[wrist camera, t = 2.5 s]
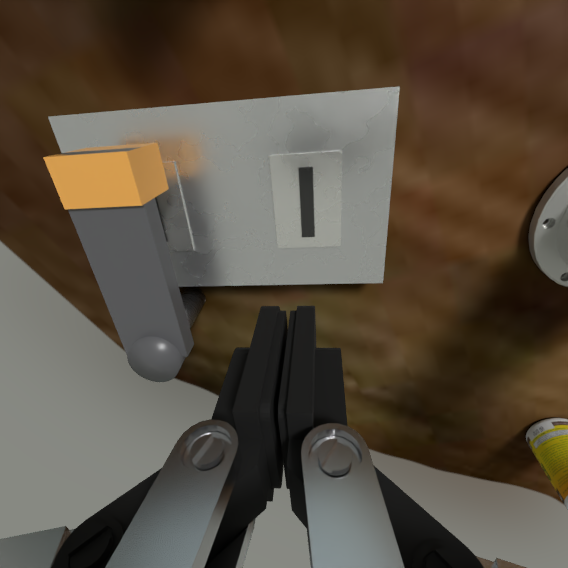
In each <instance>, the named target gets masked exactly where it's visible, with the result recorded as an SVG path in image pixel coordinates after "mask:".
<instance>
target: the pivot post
mask: <svg viewBox="0 0 568 568" xmlns="http://www.w3.org/2000/svg"><path fill="white" fill-rule="evenodd" d="M181 297H182V301H183V305H184V308H185V312H186V316H187V319H188V323H189V327H190V328H191V327H192V325H193V323H194V321H195V319H196V318H197V316H198V314H199V312H200V310H201V308H202V307H203V305H204V303H205V300H206V298H205V295H204V293H203V292H202V291H201V290H199V289H197V288H194V287H189V288H186V289H185V290H184V291H183V293H182V294H181Z"/></svg>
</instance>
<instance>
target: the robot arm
mask: <svg viewBox="0 0 568 568" xmlns="http://www.w3.org/2000/svg"><path fill="white" fill-rule="evenodd" d="M528 239H529V250H530V253H531V256H532V258H533V261H534V262H535V264H536V265H537V266H538V268H539V269H540V270H541V271H542V272H543V273H544V274H545V275H547V276H548V277H549V278H550V279H552V280H553V281H555V282H556V283H558V284H560V285H562V286H565V287H568V168H567V169H566V170H565V171H564V172H563V173H562V174H561V175H560V176H559V177H558V178H557V179H556V180H555V181H554V182H553V183H552V185H551V186H550V187H549V188H548V190H547V191H546V192H545V194H544V195H543V197H542V199H541V200H540V202H539V204H538V206H537V207H536V209H535V212H534V215H533V218H532V220H531V223H530V229H529V236H528ZM283 465H284V470H285V477H286V486H287V489H290V498H291V506H292V511H293V512H294V513H295V515H296V516H297V517H298V518H299V520H300V521H301V522H302V523H303V524H304V526H305V527H306V528H307V535H308V545H309V553H310V564H311V568H526V567H523V566H520V565H516V564H514V563H511V562H508V561H505V560H501V559H498V558H496V560H495V562H492V561H489V560H486V559H483V558H480V557H477V556H475V555H474V554H473V553H472V552H471V551H470V550H469V549H468V548H467V547H466V546H465V545H464V544H463V543H462V542H461V541H459V540H458V539H457V538H456V537H455V536H454V535H453V534H451V533H450V532H449V531H448V530H447V529H445V528H444V527H443V526H442V525H441V524H440V523H439V522H438V521H437V520H435V519H434V518H433V517H432V516H430V514H429V513H427V512H426V511H425V510H424V509H423V508H422V507H420V506H419V505H418V504H417V503H416V502H415V501H414V500H412V499H411V498H410V497H409V496H408V495H406V493H404V492H403V491H402V490H401V489H400V488H399V487H398V486H396V485H395V484H394V483H393V482H392V481H391V480H390V479H388V478H387V477H386V476H385V475H384V474H382V472H380V471H379V470H378V469H377V468H376V467H375V466H374V465H373V463H372V459H371V456H370V452H369V449H368V447H367V445H366V443H365V441H364V439H363V438H362V437H361V436H360V435H359V434H358V432H356V431H355V430H353V429H352V428H350V427H348V426H347V417H346V405H345V393H344V382H343V370H342V359H341V349H340V348H316V325H315V306H297V311H291V312H290V319H289V327H288V329H287V317H286V311H280V308H279V306H262V307H261V309H260V313H259V316H258V320H257V324H256V327H255V331H254V335H253V338H252V342H251V346H250V348H236V349H235V351H234V353H233V356H232V359H231V362H230V365H229V368H228V371H227V374H226V377H225V380H224V383H223V386H222V389H221V392H220V395H219V398H218V401H217V404H216V407H215V410H214V413H213V416H212V419H211V420H206V421H202V422H199V423H197V424H195V425H193V426H191V427H190V428H189V429H188V430H187V431H185V432H184V433H183V434H182V436H181V437H180V438H179V440H178V441H177V443H176V445H175V446H174V448H173V450H172V452H171V453H170V455H169V457H168V459H167V460H166V462H165V464H164V466H163V467H162V468H161V469H160V470H159V471H157V472H156V473H154V474H153V475H151V476H150V477H148V478H147V479H145V480H144V481H142V482H141V483H139V484H138V485H137V486H135V487H134V488H132V489H131V490H129V491H128V492H126V493H125V494H123V495H122V496H120V497H119V498H117V499H116V500H115V501H113V502H112V503H110V504H109V505H107V506H106V507H104V508H103V509H101V510H100V511H98V512H97V513H96V514H94V515H93V516H91V517H90V518H88V519H87V520H85V521H84V522H83V523H82V524H81V525H79V526H78V527H77V528H76V529H72V530H69V529H68V528H67V527H66V526H64V527H59V528H54V529H49V530H44V531H39V532H34V533H29V534H24V535H19V536H14V537H9V538H4V539H0V568H243V564H244V561H245V558H246V554H247V550H248V547H249V543H250V540H251V536H252V533H253V529H254V524H255V518H256V517H257V516H258V515H259V514H260V513H261V512H263V511H264V510H265V509H266V504H267V501H273V492H274V488H281V485H282V475H283Z"/></svg>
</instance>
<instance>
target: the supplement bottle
mask: <svg viewBox="0 0 568 568" xmlns="http://www.w3.org/2000/svg"><path fill="white" fill-rule="evenodd" d="M526 441H527V443H528V445H529V447H530V448H531V450H532V452H533V453H534V455H535V457H536V458H537V460H538V462H539V463H540V465H541V467H542V468H543V470H544V472H545V473H546V475H547V477H548V478H549V480H550V481H551V483H552V485H553V486H554V488H555V490H556V491H557V493H558V495H559V496H560V498H561V500H562V501H563V503H564V505H565V506H566V508H567V509H568V419H564V418H549V419H545V420H542V421H539V422H537V423H535V424H534V425H532V426H531V427H530V428H529V430H528V431H527V433H526Z"/></svg>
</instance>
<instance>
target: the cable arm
mask: <svg viewBox="0 0 568 568" xmlns="http://www.w3.org/2000/svg"><path fill="white" fill-rule="evenodd" d="M44 160H45V162H46V165H47V167H48V170H49V172H50V174H51V177H52V179H53V182H54V184H55V187H56V189H57V192H58V194H59V196H60V199H61V201H62V204H63V206H64V209H68V211H69V213H70V215H71V218H72V220H73V223H74V225H75V228H76V230H77V233H78V235H79V238H80V240H81V243H82V245H83V248H84V250H85V252H86V255H87V257H88V260H89V262H90V265H91V267H92V270H93V272H94V275H95V277H96V280H97V282H98V285H99V287H100V289H101V292H102V294H103V297H104V299H105V302H106V304H107V307H108V309H109V312H110V314H111V317H112V319H113V322H114V324H115V327H116V329H117V331H118V334H119V336H120V339H121V341H122V344H123V346H124V349H125V351H126V354H127V358H128V362H129V364H130V366H131V368H132V369H133V370H134V371H135V372H136V373H137V374H138V375H140V376H141V377H143V378H146V379H148V380H151V381H155V382H165V381H169V380H171V379H173V378H174V377H175V376H176V375H177V373H178V371H179V369H180V368H181V366H182V364H183V362H184V360H185V358H186V357H188V355H189V353H190V351H191V349H192V347H193V345H194V342H193V338H192V334H191V331H190V327H189V323H188V319H187V316H186V312H185V308H184V305H183V301H182V297H181V293H180V290H179V286H178V282H177V278H176V275H175V271H174V267H173V263H172V260H171V256H170V252H169V249H168V245H167V241H166V237H165V234H164V230H163V226H162V222H161V219H160V215H159V211H158V207H157V204H156V200H155V197H157V196H158V195H160V194H162V193H163V192H165V191H166V190H168V189H169V188H168V184H167V179H166V175H165V171H164V167H163V163H162V159H161V155H160V151H159V147H158V143H145V144H131V145H117V146H104V147H90V148H83V149H79V150H74V151H70V152H65V153H61V154H56V155H52V156H47V157H44Z"/></svg>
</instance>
